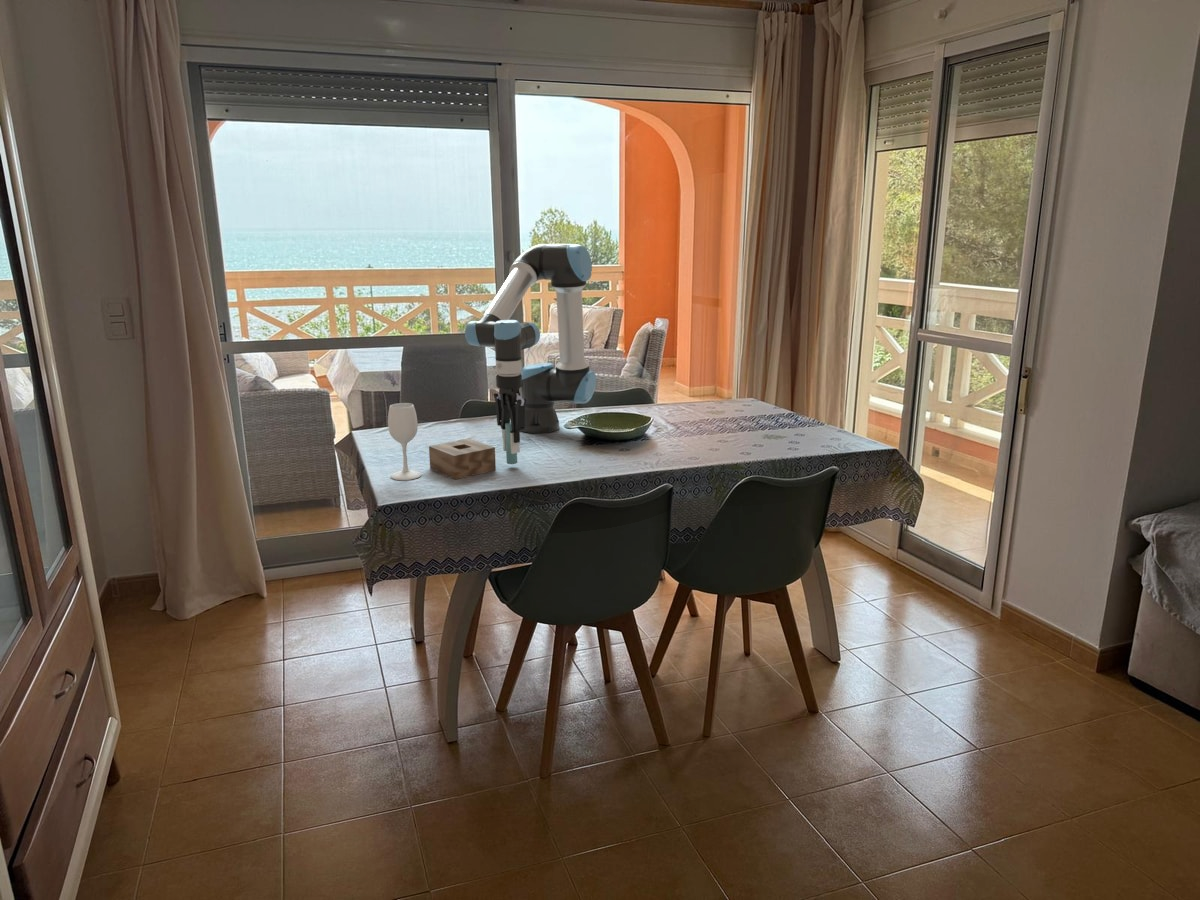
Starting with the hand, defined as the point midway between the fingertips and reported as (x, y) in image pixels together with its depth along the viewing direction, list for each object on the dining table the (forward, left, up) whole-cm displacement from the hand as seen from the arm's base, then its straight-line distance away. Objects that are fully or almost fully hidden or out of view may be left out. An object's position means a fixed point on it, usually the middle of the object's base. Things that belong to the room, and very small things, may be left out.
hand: (511, 451), depth 240 cm
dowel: (0, 0, -4) cm, 4 cm away
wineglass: (+28, -13, -5) cm, 32 cm away
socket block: (+12, -8, -5) cm, 15 cm away
